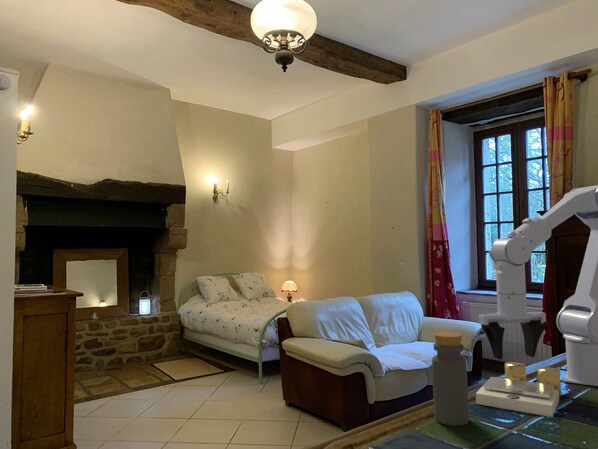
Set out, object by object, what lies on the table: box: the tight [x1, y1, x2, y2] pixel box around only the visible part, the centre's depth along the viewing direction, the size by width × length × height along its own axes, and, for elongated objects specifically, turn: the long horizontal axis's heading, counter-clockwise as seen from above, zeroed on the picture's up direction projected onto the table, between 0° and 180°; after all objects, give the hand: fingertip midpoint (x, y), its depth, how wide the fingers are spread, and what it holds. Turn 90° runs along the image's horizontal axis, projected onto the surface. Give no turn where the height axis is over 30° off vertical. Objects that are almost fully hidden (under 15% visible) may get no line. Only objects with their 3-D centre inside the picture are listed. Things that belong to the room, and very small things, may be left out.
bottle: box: [431, 331, 470, 427], centre depth 80 cm, size 6×6×15 cm
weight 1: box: [504, 361, 527, 382], centre depth 96 cm, size 4×4×5 cm
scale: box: [475, 385, 560, 418], centre depth 88 cm, size 10×13×2 cm
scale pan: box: [482, 376, 554, 398], centre depth 89 cm, size 7×12×1 cm, turn 54°
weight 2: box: [537, 366, 562, 398], centre depth 92 cm, size 4×4×5 cm
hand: (514, 356), depth 97 cm, fingers open, 7 cm apart
